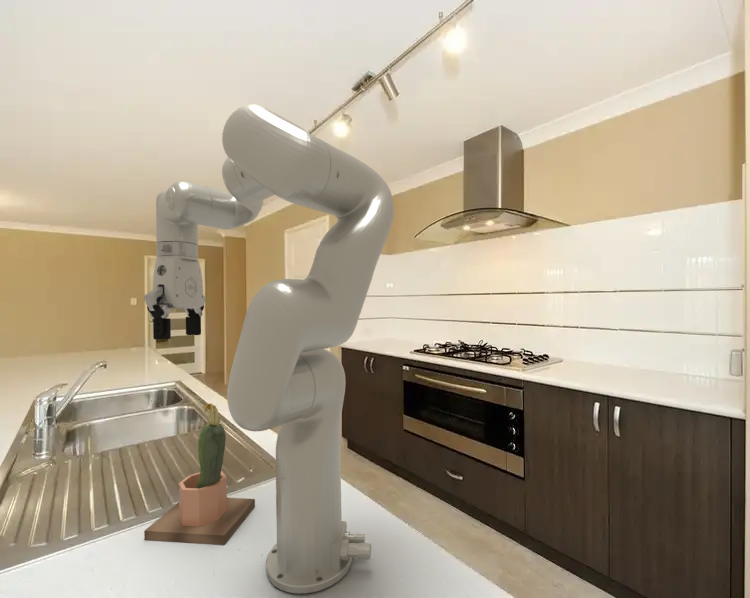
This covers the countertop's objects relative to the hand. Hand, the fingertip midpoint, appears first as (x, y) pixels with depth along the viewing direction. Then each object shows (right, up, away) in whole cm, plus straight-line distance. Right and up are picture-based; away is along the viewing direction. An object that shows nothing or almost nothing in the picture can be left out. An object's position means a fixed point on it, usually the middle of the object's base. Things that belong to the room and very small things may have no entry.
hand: (178, 337), depth 74 cm
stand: (+10, -32, -10) cm, 35 cm away
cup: (+10, -30, -10) cm, 33 cm away
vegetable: (+10, -30, -10) cm, 33 cm away
